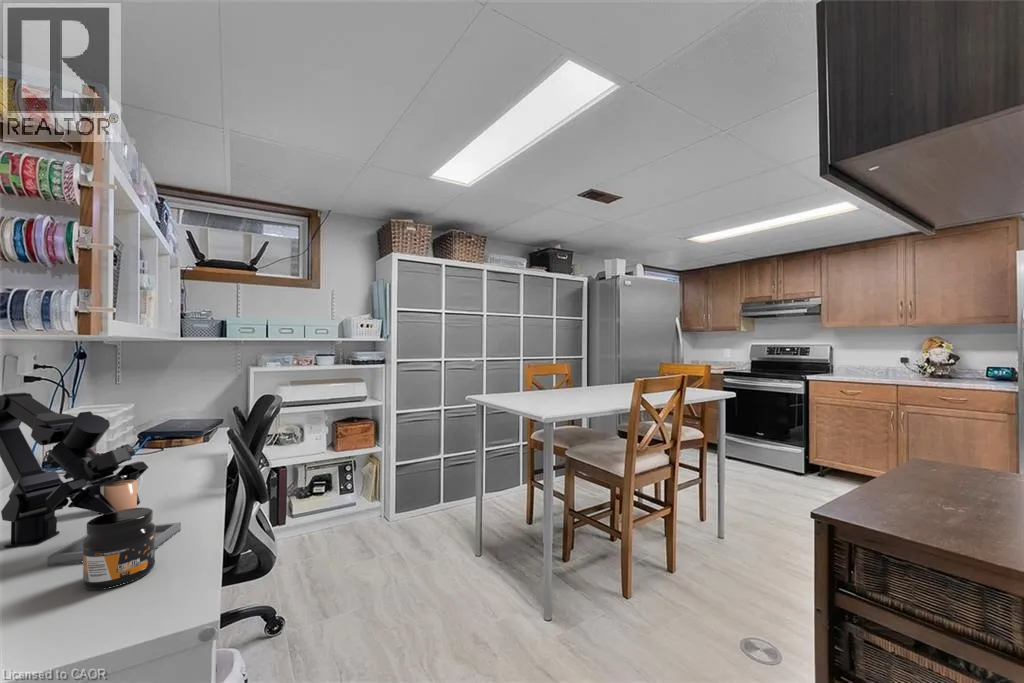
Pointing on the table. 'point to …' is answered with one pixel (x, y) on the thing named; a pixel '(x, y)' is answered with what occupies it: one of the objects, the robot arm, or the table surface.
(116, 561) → the supplement container
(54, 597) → the table surface
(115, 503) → the terracotta cup
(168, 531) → the charcoal tray
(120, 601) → the table surface
